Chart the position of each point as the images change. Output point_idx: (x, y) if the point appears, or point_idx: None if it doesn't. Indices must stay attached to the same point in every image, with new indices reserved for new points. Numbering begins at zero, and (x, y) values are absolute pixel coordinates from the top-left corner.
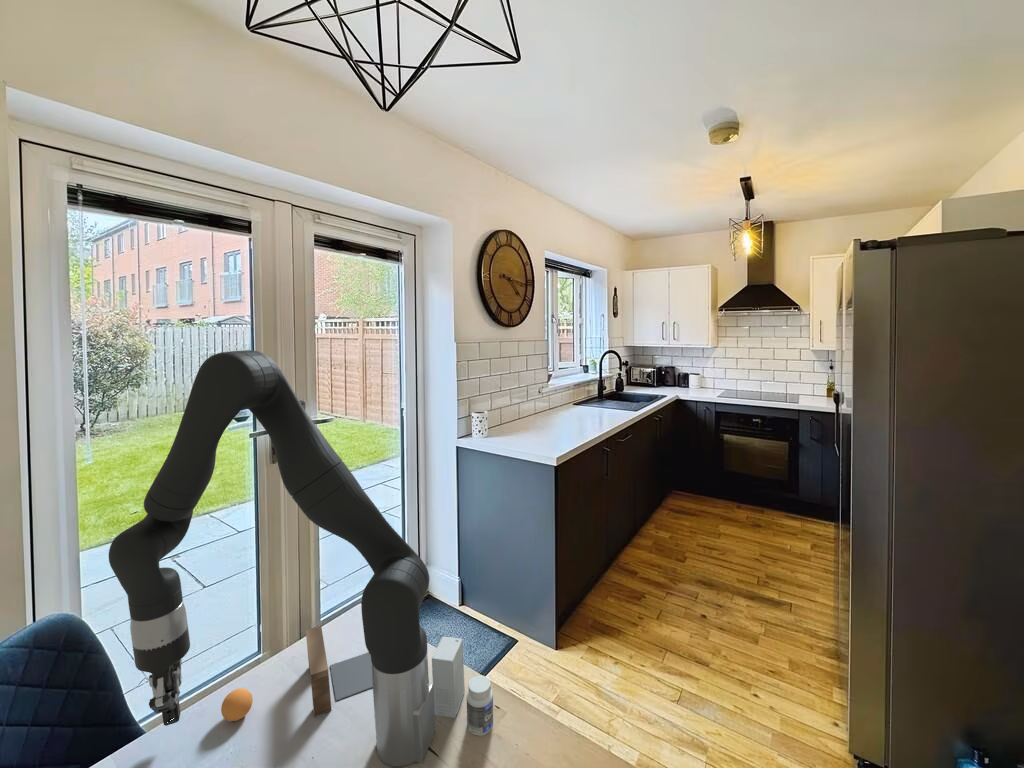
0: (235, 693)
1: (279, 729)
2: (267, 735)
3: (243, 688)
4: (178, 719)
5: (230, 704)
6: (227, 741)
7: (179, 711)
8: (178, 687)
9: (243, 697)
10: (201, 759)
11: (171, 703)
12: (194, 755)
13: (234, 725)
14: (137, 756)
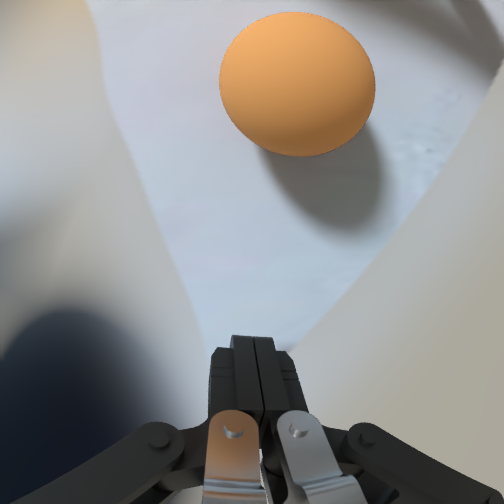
0: (330, 70)
1: (425, 18)
2: (430, 49)
3: (275, 26)
4: (273, 341)
5: (361, 113)
6: (383, 151)
7: (250, 352)
8: (350, 500)
9: (357, 45)
10: (395, 231)
11: (442, 469)
12: (366, 250)
13: None
14: None
